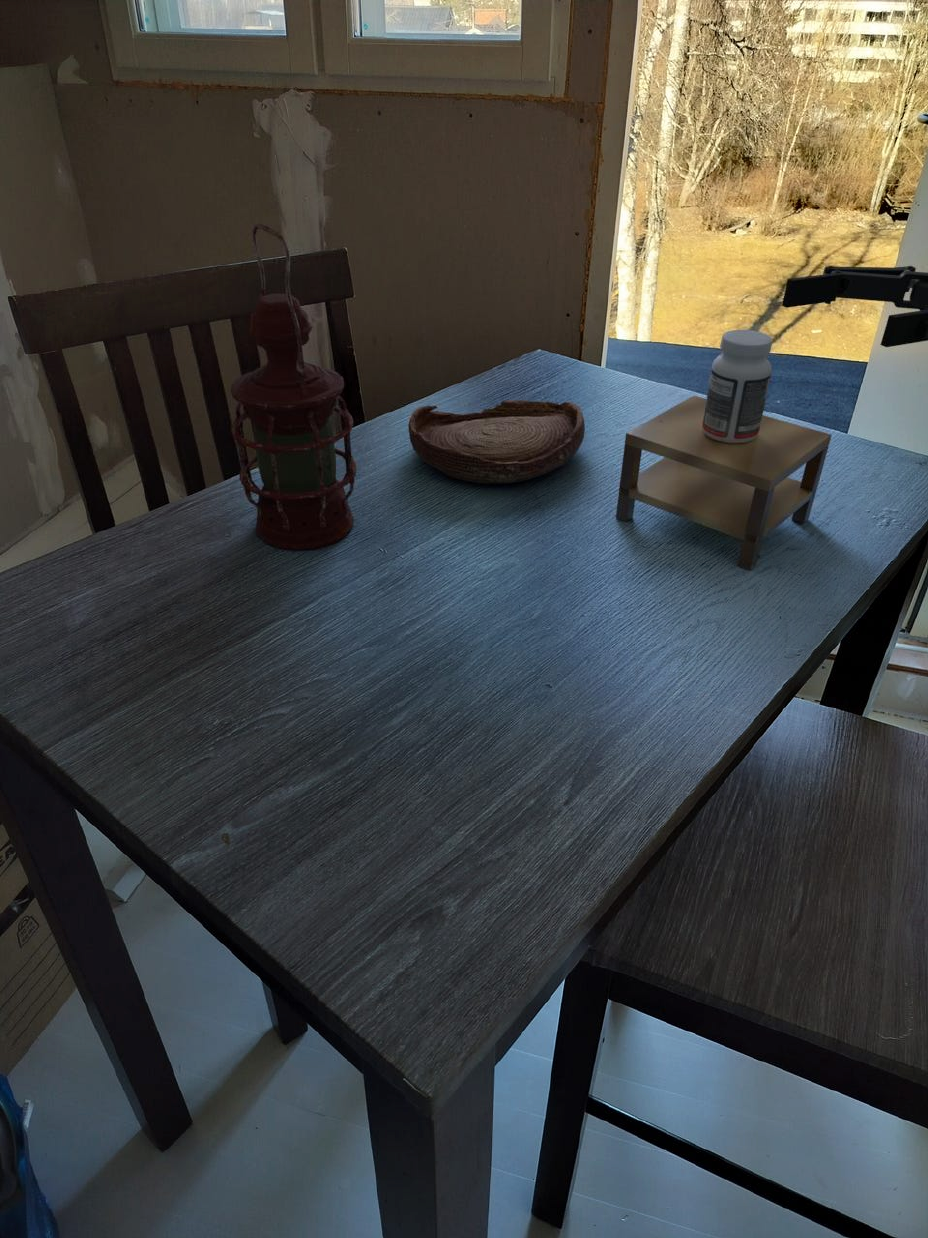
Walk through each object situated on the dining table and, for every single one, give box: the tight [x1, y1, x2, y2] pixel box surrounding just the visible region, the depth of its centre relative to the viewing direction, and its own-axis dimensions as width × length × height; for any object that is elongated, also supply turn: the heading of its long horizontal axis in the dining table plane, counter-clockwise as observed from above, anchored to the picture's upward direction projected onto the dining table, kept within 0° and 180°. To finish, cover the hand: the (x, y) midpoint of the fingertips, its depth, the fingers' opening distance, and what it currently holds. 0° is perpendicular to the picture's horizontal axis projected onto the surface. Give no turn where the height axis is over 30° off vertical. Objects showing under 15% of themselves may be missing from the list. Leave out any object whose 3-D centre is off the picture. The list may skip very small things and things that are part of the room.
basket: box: [408, 399, 586, 485], centre depth 105 cm, size 22×20×5 cm
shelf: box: [615, 395, 833, 571], centre depth 91 cm, size 16×14×10 cm
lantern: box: [230, 223, 358, 551], centre depth 83 cm, size 12×12×30 cm
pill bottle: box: [702, 329, 773, 443], centre depth 85 cm, size 6×6×10 cm
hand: (834, 311), depth 83 cm, fingers open, 13 cm apart
